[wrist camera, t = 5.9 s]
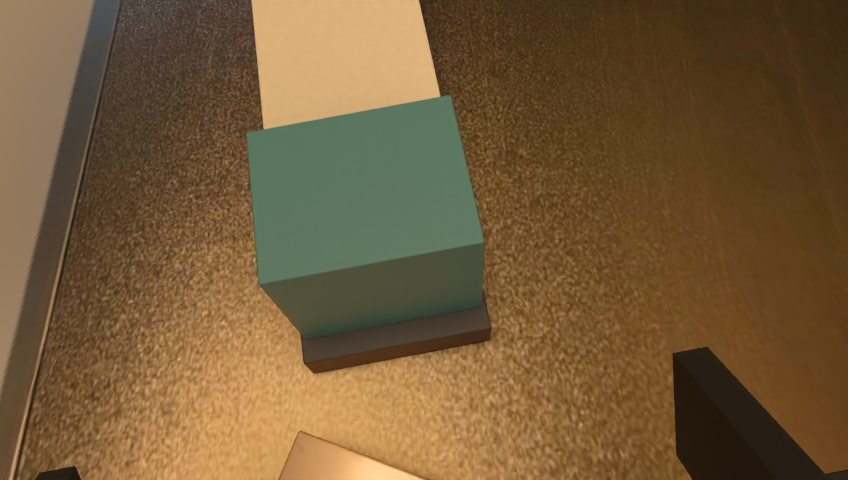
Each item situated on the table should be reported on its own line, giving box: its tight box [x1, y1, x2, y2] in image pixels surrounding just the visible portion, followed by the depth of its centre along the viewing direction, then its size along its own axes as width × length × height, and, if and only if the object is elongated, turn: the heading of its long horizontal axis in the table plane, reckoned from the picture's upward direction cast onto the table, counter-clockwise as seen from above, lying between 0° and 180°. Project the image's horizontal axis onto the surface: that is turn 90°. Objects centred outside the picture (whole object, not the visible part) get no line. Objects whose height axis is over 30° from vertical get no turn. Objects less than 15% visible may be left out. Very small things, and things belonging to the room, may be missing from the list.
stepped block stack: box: [246, 0, 491, 373], centre depth 31 cm, size 24×8×9 cm, turn 10°
